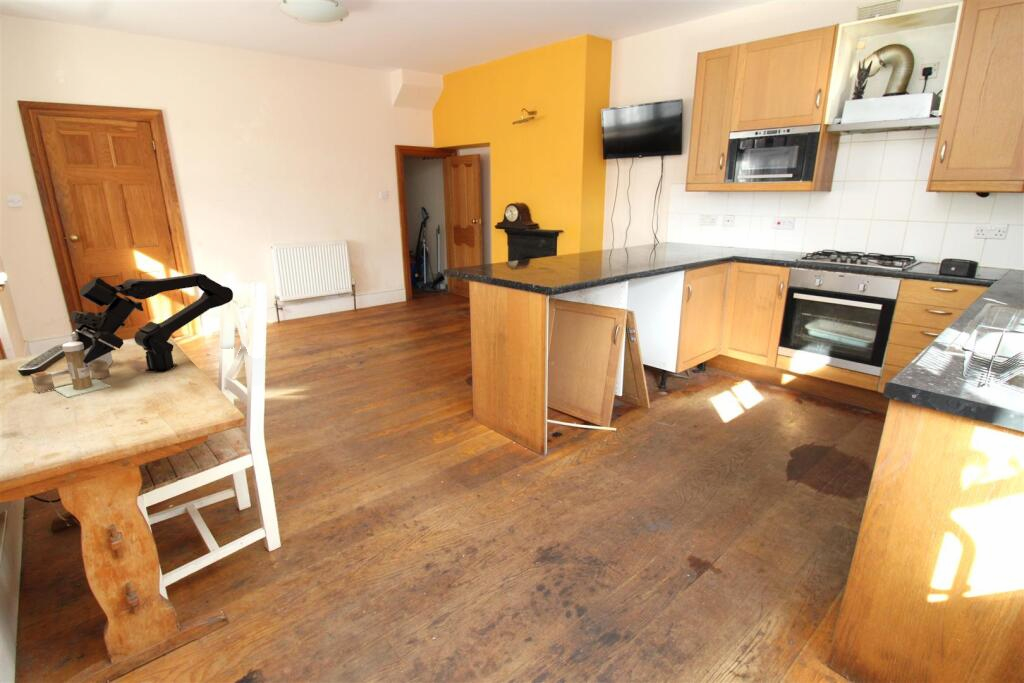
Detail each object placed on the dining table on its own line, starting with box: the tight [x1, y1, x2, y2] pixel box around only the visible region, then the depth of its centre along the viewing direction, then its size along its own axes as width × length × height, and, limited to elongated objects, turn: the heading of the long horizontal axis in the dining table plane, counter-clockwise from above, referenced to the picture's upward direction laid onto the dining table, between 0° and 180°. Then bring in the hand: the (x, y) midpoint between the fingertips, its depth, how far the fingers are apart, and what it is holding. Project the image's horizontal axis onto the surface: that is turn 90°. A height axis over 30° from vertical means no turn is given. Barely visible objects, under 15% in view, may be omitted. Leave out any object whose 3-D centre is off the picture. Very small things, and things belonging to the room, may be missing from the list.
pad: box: [53, 378, 111, 399], centre depth 146 cm, size 10×10×1 cm
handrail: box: [30, 359, 111, 393], centre depth 149 cm, size 17×4×5 cm, turn 147°
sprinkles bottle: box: [62, 341, 93, 390], centre depth 144 cm, size 5×5×13 cm
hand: (78, 359), depth 144 cm, fingers open, 9 cm apart
